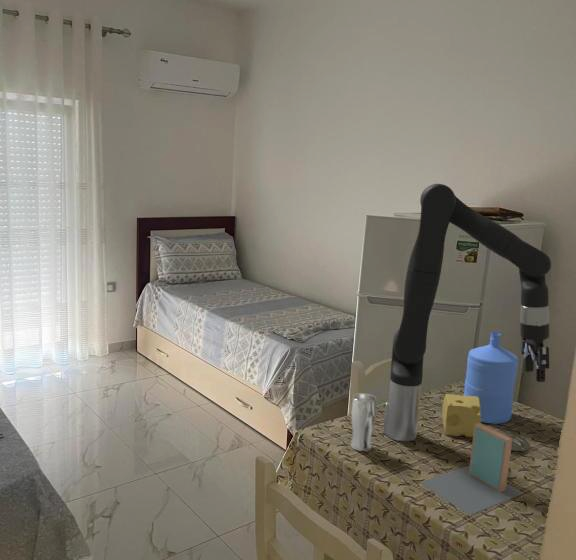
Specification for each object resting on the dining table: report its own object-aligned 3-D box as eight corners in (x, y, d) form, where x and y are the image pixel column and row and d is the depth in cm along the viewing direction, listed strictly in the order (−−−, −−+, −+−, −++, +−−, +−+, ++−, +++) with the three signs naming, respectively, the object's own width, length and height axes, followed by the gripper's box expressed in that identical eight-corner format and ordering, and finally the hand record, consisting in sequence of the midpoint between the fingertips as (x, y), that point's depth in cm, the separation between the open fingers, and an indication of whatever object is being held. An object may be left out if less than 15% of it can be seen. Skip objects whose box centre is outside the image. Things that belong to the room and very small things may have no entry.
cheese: (479, 440, 172) (483, 409, 170) (442, 435, 174) (446, 404, 172) (475, 425, 182) (479, 396, 180) (440, 421, 184) (443, 391, 182)
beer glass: (343, 446, 164) (347, 396, 161) (358, 438, 169) (362, 390, 166) (363, 455, 159) (367, 404, 157) (377, 447, 164) (382, 398, 162)
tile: (468, 473, 151) (474, 424, 148) (473, 471, 152) (479, 422, 149) (499, 492, 143) (506, 440, 140) (505, 490, 144) (512, 438, 141)
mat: (419, 484, 146) (419, 482, 146) (472, 466, 156) (472, 464, 156) (468, 517, 133) (469, 515, 132) (523, 495, 143) (523, 493, 143)
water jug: (492, 429, 180) (503, 343, 175) (451, 410, 193) (460, 330, 187) (520, 418, 189) (531, 337, 184) (480, 401, 202) (489, 325, 196)
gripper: (512, 315, 167) (512, 368, 170) (530, 328, 153) (530, 385, 156) (538, 314, 167) (538, 367, 169) (559, 326, 153) (558, 384, 155)
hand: (534, 376), depth 163 cm, fingers open, 8 cm apart
